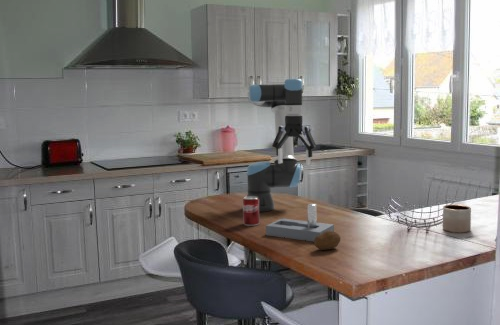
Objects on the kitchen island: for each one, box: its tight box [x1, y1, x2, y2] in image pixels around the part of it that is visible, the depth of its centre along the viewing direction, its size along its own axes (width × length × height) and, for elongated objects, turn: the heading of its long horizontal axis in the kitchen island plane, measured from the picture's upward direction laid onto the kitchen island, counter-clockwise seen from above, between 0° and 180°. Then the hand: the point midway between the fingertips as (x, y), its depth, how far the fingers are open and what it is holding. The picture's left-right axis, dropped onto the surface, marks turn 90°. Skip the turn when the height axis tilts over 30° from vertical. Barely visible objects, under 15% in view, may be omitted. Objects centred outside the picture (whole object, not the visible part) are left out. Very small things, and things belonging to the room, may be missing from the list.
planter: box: [442, 204, 472, 234], centre depth 225 cm, size 11×11×10 cm
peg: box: [307, 203, 318, 228], centre depth 219 cm, size 4×4×13 cm
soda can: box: [242, 196, 261, 227], centre depth 242 cm, size 7×7×12 cm
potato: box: [313, 230, 341, 251], centre depth 202 cm, size 7×12×7 cm, turn 127°
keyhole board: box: [265, 218, 335, 243], centre depth 223 cm, size 24×14×4 cm, turn 58°
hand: (294, 164), depth 238 cm, fingers open, 13 cm apart
